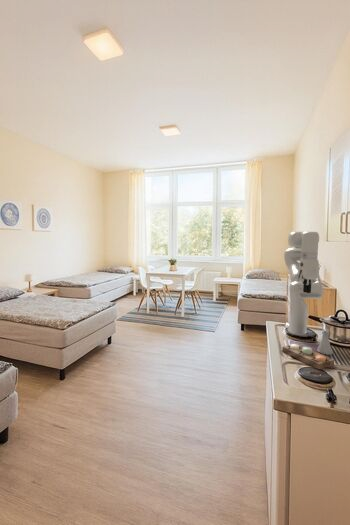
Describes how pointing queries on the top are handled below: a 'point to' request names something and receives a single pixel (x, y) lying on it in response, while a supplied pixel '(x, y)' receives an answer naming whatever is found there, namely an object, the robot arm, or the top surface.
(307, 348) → the button
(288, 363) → the top surface
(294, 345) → the button
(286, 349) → the panel
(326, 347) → the flask
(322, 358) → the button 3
